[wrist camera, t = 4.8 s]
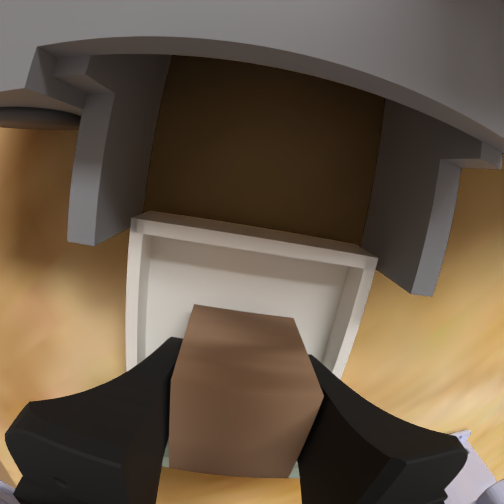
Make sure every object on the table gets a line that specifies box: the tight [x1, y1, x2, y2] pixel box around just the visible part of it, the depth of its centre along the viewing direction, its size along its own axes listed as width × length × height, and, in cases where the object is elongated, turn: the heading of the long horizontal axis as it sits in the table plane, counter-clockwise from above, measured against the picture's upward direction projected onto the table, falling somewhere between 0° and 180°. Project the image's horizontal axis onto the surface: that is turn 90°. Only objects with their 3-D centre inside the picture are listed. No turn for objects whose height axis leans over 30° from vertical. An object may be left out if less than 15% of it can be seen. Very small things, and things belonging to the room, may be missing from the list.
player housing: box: [0, 0, 504, 297], centre depth 8 cm, size 18×11×8 cm, turn 80°
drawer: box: [126, 211, 378, 478], centre depth 12 cm, size 9×9×5 cm
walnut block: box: [169, 304, 324, 478], centre depth 10 cm, size 4×4×5 cm
